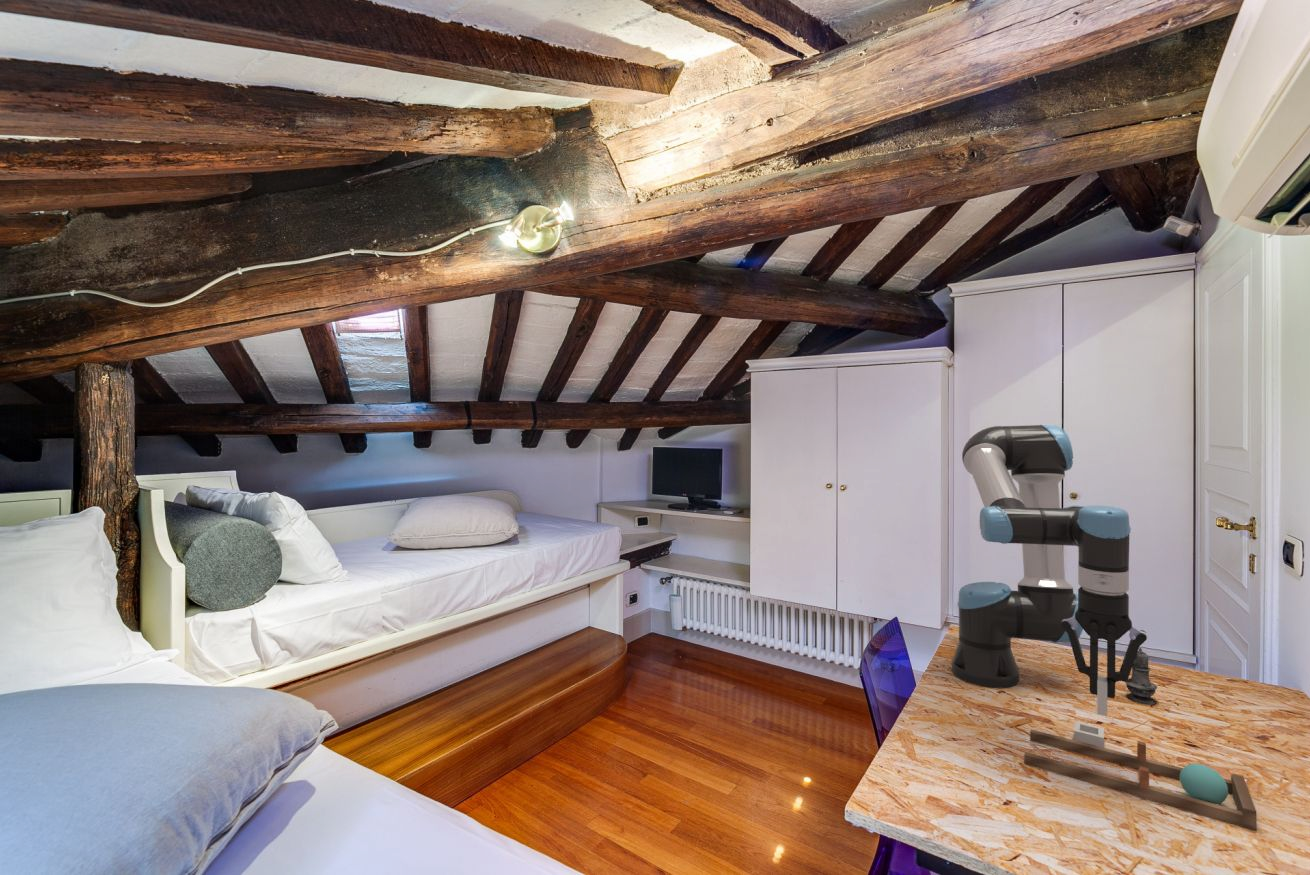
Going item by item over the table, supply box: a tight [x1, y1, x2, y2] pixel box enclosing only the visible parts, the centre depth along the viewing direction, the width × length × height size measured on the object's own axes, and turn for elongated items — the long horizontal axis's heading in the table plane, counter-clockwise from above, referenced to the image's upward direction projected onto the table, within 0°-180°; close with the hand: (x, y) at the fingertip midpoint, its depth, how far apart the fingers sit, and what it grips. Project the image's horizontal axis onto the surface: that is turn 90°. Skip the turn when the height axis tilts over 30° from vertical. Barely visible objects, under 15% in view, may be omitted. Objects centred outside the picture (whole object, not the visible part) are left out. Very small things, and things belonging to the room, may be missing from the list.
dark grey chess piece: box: [1124, 647, 1158, 705], centre depth 135 cm, size 6×6×12 cm
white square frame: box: [1073, 720, 1105, 748], centre depth 119 cm, size 5×5×2 cm
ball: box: [1179, 763, 1229, 805], centre depth 99 cm, size 6×6×6 cm
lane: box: [1023, 729, 1258, 831], centre depth 106 cm, size 31×11×5 cm, turn 52°
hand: (1102, 711), depth 110 cm, fingers closed
